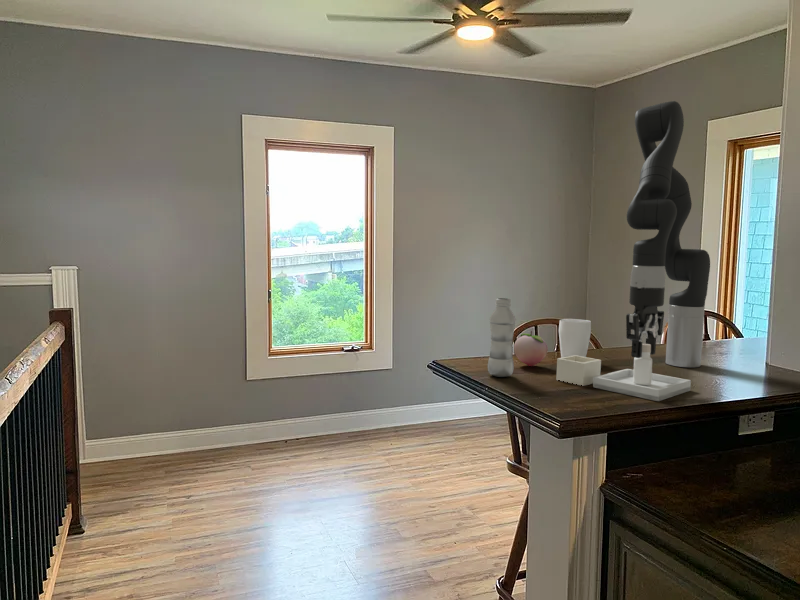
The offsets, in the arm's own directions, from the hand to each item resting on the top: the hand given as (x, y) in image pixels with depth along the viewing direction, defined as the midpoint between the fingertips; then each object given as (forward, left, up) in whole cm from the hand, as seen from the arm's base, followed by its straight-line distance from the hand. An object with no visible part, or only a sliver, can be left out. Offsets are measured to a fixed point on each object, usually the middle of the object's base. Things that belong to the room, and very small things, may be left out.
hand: (643, 355), depth 142 cm
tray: (0, 0, -8) cm, 8 cm away
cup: (-16, -29, -8) cm, 34 cm away
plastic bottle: (+17, -29, -8) cm, 35 cm away
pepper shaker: (0, 0, -7) cm, 7 cm away
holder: (+5, -14, -8) cm, 17 cm away
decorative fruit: (+1, -32, -8) cm, 33 cm away
